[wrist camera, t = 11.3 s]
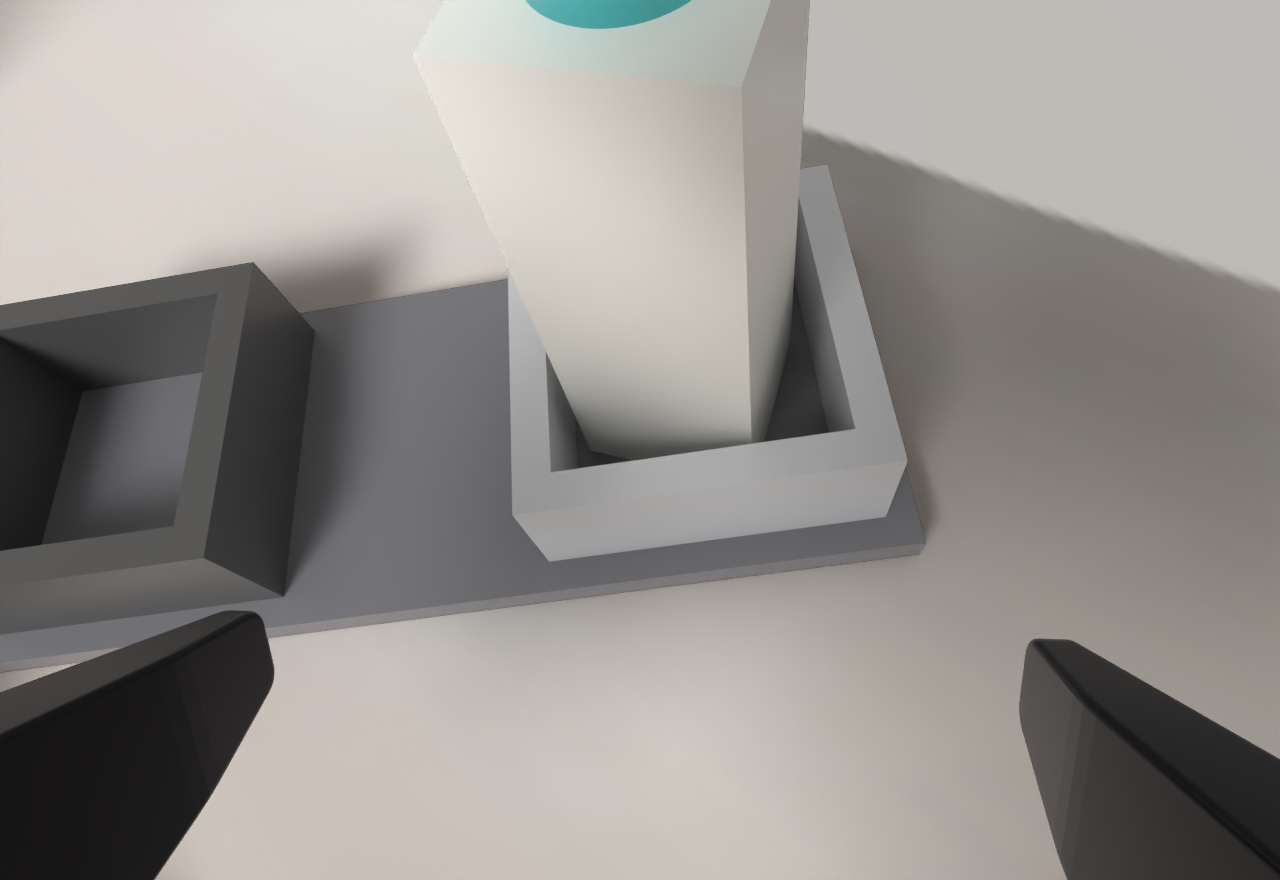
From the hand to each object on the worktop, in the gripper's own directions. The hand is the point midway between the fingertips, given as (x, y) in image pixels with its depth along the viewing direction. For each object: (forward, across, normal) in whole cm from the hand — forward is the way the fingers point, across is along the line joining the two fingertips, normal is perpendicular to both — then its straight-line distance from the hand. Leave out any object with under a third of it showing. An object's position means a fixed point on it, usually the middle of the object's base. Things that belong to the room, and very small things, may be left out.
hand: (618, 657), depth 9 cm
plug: (+11, 0, 0) cm, 11 cm away
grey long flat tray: (+11, +7, +1) cm, 13 cm away
